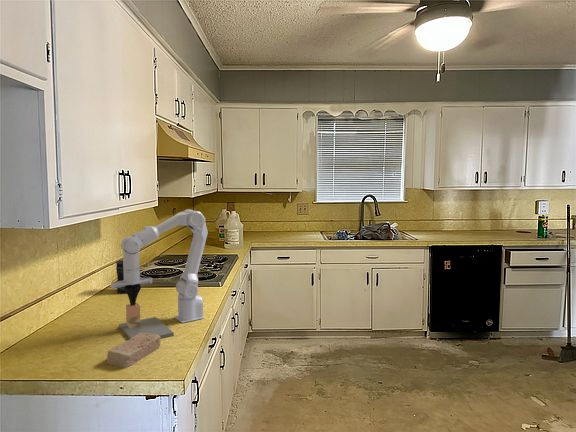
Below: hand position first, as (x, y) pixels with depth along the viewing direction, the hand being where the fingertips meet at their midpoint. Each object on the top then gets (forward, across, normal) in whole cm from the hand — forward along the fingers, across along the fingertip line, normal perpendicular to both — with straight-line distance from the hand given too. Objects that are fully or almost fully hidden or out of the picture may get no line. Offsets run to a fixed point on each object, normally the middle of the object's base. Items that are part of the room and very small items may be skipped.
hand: (132, 304), depth 155 cm
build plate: (+10, +3, -5) cm, 11 cm away
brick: (+10, -6, -23) cm, 26 cm away
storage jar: (+10, +12, +53) cm, 55 cm away
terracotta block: (+4, 0, 0) cm, 4 cm away
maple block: (+8, 0, 0) cm, 8 cm away
